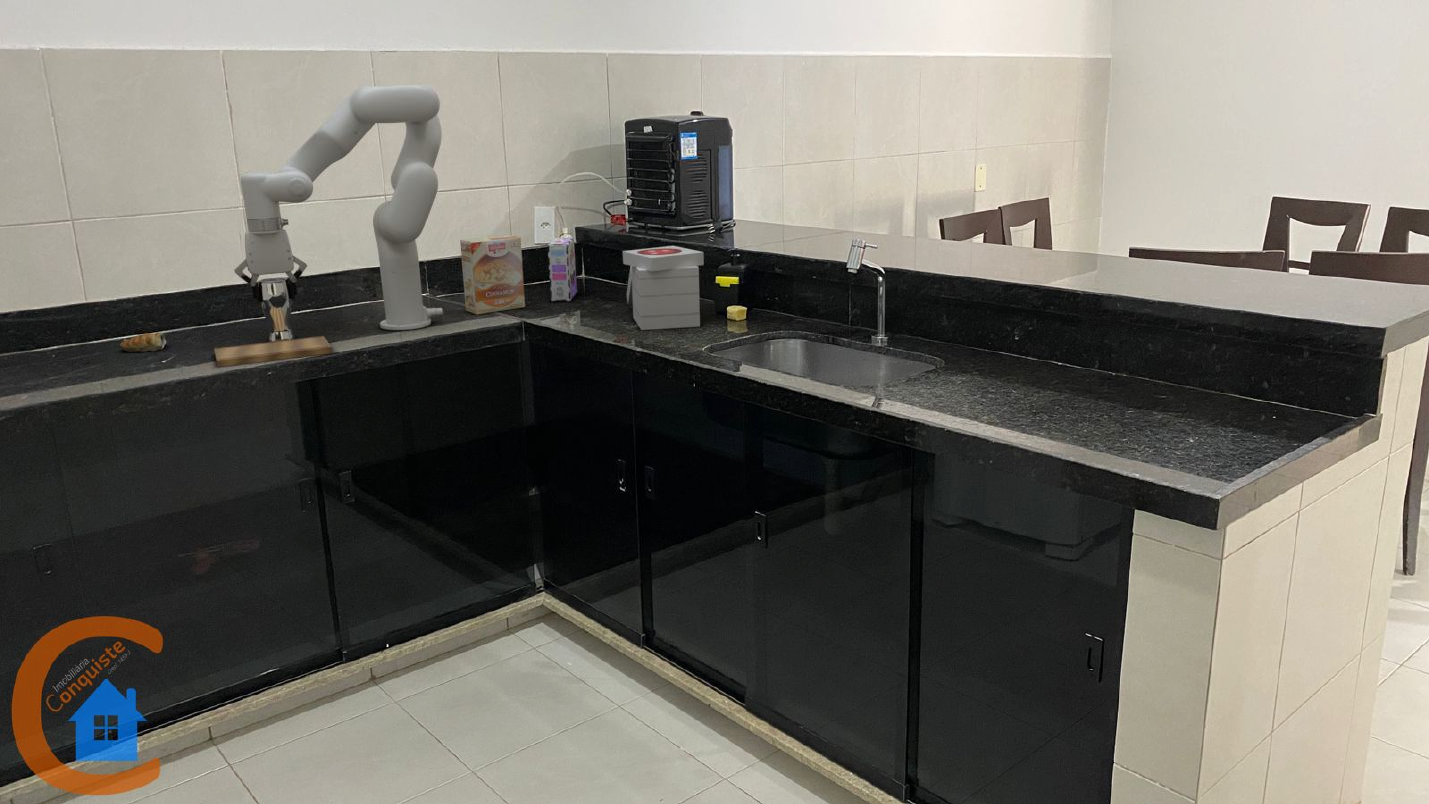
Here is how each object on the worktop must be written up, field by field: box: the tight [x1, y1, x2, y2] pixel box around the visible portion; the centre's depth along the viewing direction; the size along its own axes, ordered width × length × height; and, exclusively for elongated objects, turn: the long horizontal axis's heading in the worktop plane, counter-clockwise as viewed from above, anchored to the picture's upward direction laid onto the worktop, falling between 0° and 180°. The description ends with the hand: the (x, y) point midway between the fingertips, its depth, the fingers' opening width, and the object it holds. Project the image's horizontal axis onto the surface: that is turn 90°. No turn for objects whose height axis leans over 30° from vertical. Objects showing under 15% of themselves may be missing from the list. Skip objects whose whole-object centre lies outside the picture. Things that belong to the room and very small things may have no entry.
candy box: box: [547, 237, 578, 302], centre depth 293 cm, size 14×6×16 cm, turn 179°
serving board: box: [213, 335, 333, 368], centre depth 235 cm, size 24×13×2 cm, turn 118°
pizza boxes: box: [622, 245, 705, 331], centre depth 263 cm, size 19×30×18 cm, turn 12°
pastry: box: [119, 331, 167, 353], centre depth 242 cm, size 9×7×4 cm
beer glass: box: [257, 276, 296, 342], centre depth 246 cm, size 7×7×15 cm
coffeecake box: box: [459, 234, 526, 316], centre depth 278 cm, size 15×7×20 cm, turn 129°
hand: (275, 299), depth 246 cm, fingers closed on beer glass, 7 cm apart
